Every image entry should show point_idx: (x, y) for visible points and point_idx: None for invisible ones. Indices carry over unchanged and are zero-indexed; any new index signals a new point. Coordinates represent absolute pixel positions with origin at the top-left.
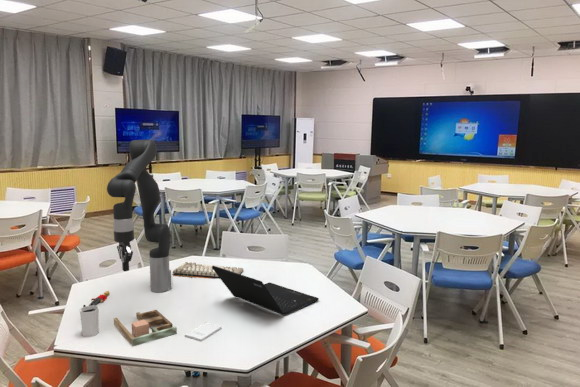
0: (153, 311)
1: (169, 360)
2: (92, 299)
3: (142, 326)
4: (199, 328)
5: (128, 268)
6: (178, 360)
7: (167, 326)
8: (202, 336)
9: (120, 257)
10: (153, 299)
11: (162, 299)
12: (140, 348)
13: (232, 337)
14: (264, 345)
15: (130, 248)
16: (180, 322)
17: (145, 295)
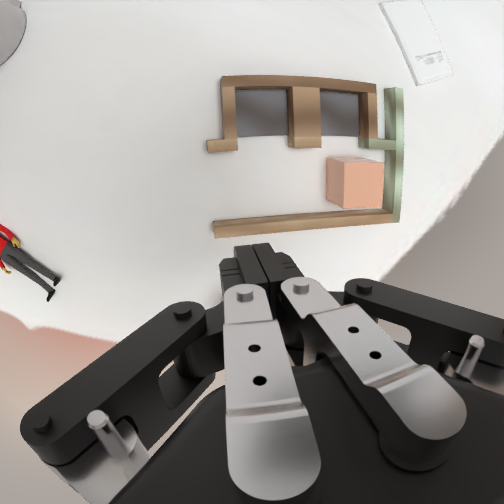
0: (234, 90)
1: (473, 171)
2: (4, 268)
3: (381, 183)
4: (409, 37)
5: (290, 258)
6: (480, 157)
7: (374, 101)
8: (446, 62)
9: (210, 378)
10: (64, 62)
11: (83, 32)
12: (408, 203)
13: (458, 19)
14: (494, 14)
15: (435, 382)
16: (329, 42)
17: (16, 88)
